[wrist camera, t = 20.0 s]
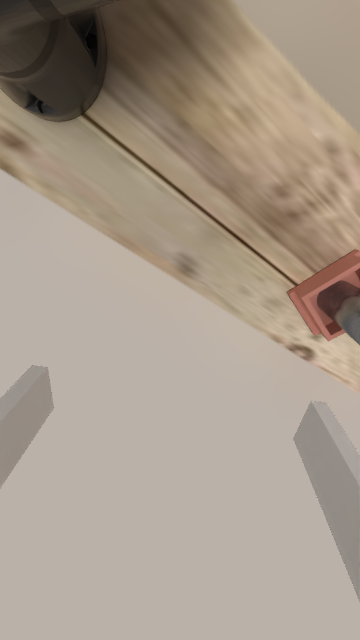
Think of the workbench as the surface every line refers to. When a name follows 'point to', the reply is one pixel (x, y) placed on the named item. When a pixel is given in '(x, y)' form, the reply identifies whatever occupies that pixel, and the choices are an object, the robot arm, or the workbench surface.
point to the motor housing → (342, 306)
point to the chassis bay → (350, 268)
